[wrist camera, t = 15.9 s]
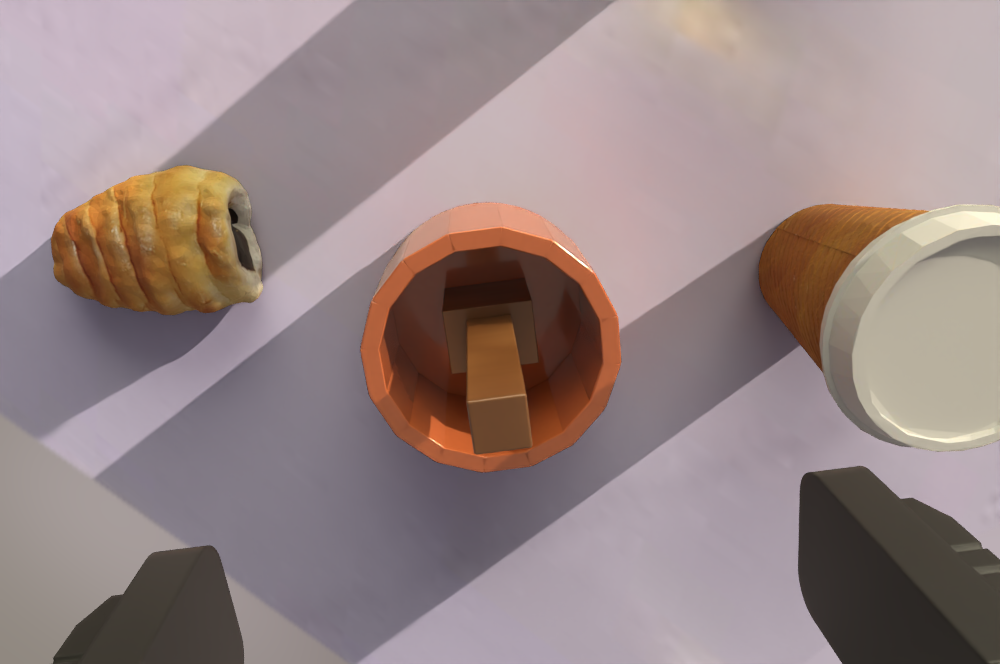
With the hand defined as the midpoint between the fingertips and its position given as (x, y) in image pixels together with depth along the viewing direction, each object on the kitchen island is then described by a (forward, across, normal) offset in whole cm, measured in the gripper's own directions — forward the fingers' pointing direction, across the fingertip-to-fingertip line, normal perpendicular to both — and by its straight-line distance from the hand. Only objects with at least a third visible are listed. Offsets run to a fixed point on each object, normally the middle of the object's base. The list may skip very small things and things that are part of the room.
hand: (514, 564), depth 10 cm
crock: (+28, 0, +5) cm, 28 cm away
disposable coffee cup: (+28, -17, +4) cm, 33 cm away
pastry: (+28, +14, 0) cm, 31 cm away
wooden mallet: (+27, 0, +4) cm, 27 cm away
